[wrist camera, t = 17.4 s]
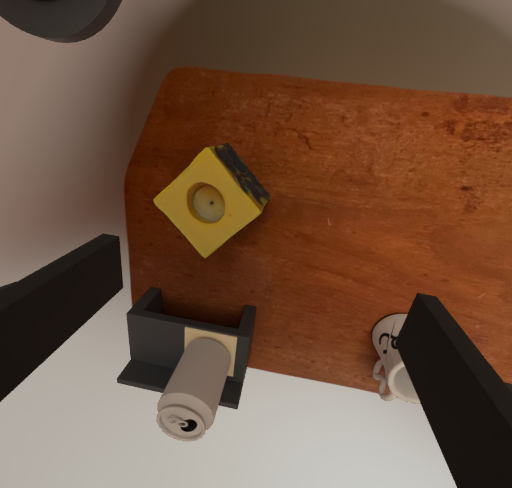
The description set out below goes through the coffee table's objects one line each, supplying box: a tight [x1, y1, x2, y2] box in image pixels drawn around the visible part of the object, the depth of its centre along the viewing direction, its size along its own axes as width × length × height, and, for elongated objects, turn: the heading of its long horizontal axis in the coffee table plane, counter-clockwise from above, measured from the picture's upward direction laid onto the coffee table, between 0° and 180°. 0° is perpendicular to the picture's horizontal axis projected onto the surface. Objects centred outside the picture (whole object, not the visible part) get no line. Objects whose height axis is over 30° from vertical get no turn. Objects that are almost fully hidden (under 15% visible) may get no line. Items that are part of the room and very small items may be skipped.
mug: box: [372, 314, 421, 404], centre depth 44 cm, size 12×9×10 cm
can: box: [157, 339, 231, 441], centre depth 39 cm, size 8×8×12 cm
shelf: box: [117, 287, 256, 409], centre depth 47 cm, size 20×11×12 cm, turn 83°
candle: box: [153, 143, 269, 258], centre depth 38 cm, size 10×10×10 cm
